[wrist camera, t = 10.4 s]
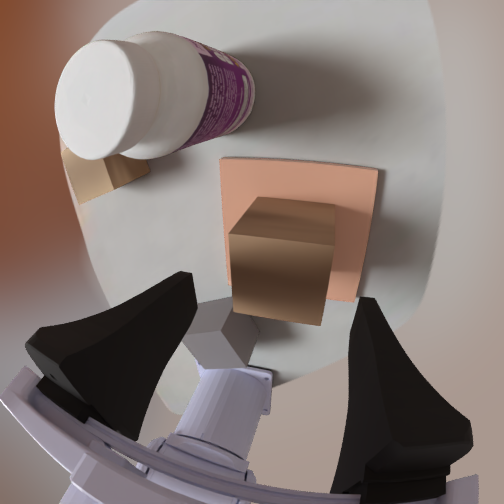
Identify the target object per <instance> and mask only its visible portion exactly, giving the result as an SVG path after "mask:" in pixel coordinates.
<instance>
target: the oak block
mask: <svg viewBox="0 0 504 504" xmlns="http://www.w3.org/2000/svg"><path fill="white" fill-rule="evenodd" d="M61 156H62V159H63V162H64V165H65V168H66V171H67V174H68V176H69V179H70V182H71V185H72V188H73V190H74V193H75V195H76V198H77V201H78V203H79V205H80V204H83V203H85V202H87V201H89V200H91V199H94V198H96V197H98V196H101V195H103V194H105V193H108V192H110V191H113V190H115V189H117V188H119V187H121V186H123V185H125V184H126V183H128V182H130V181H132V180H135V179H137V178H139V177H141V176H143V175H145V174H147V173H149V172H150V169H149V166H148V163H147V161H146V159H134V158H130V157H127V156H124V155H122V154H120V153H118V154H114V155H111V156H108V157H106V158H102V159H96V160H87V159H84V158H81V157H79V156H77V155H76V154H74V153H73V152H72V151H71V150H70V149H69V148H66V149H65V150H64V151H63V152H61Z"/></svg>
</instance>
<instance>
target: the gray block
mask: <svg viewBox="0 0 504 504" xmlns="http://www.w3.org/2000/svg"><path fill="white" fill-rule="evenodd" d="M259 332H260V331H259V330H258V328H257V326H256V325H255V323H254V321H253V319H252V318H251V316H250V315H247V314H242V313H237V312H233V299H232V297H227V298H223V299H218V300H213V301H208V302H203V303H198V310H197V312H196V314H195V317H194V319H193V321H192V323H191V326H190V327H189V329H188V331H187V332H186V334H185V336H184V337H183V339H182V342H183V343H184V345H185V346H186V347H187V348H188V350H189V351H190V352H191V353H192V355H193V356H194V357H195V358H196V360H197V361H198V362H199V363H200V364H201V366H202V367H203V368H204V369H233V368H247V366H248V363H249V360H250V357H251V355H252V352H253V349H254V346H255V344H256V341H257V338H258V335H259Z"/></svg>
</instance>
